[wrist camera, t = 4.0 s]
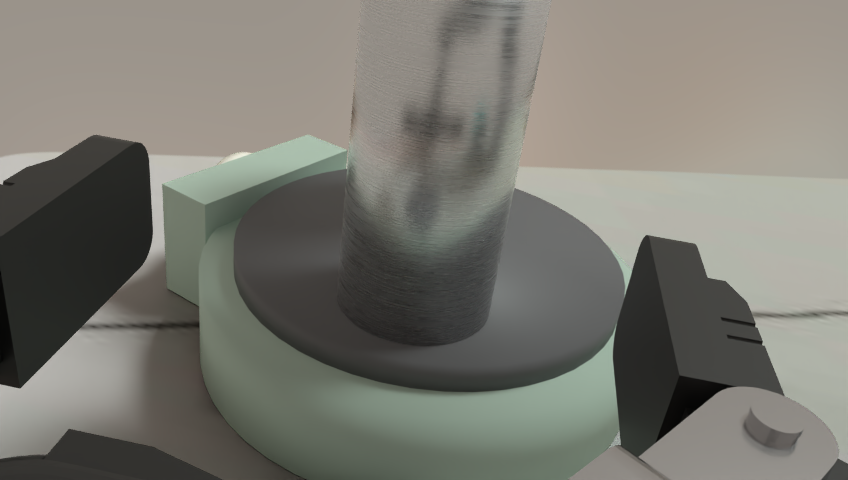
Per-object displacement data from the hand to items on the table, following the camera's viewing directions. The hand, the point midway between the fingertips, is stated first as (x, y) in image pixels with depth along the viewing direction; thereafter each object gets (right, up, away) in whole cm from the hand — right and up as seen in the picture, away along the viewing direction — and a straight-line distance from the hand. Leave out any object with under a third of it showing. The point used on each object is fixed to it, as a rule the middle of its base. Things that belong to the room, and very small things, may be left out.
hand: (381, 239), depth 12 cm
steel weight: (0, -2, +9) cm, 9 cm away
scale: (0, -3, +13) cm, 14 cm away
